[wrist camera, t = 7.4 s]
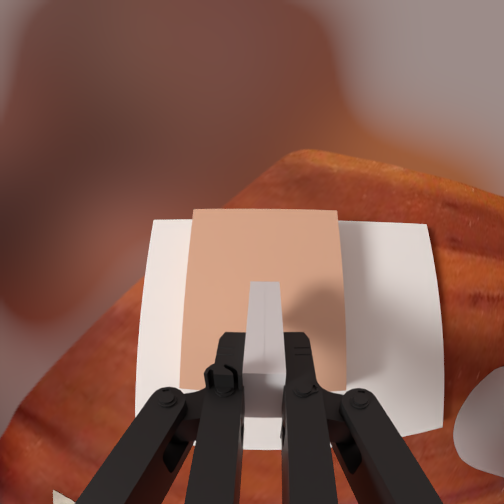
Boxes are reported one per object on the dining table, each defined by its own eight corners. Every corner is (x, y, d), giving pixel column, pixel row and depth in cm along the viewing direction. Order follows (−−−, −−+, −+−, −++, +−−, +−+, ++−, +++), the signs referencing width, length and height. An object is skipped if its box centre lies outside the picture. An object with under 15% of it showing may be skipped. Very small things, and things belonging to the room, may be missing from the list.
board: (420, 230, 24) (426, 224, 23) (435, 425, 18) (442, 427, 17) (158, 226, 25) (153, 219, 24) (141, 433, 19) (135, 436, 18)
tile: (336, 387, 19) (329, 227, 23) (346, 390, 16) (336, 210, 21) (189, 386, 19) (200, 226, 23) (179, 388, 17) (193, 209, 21)
